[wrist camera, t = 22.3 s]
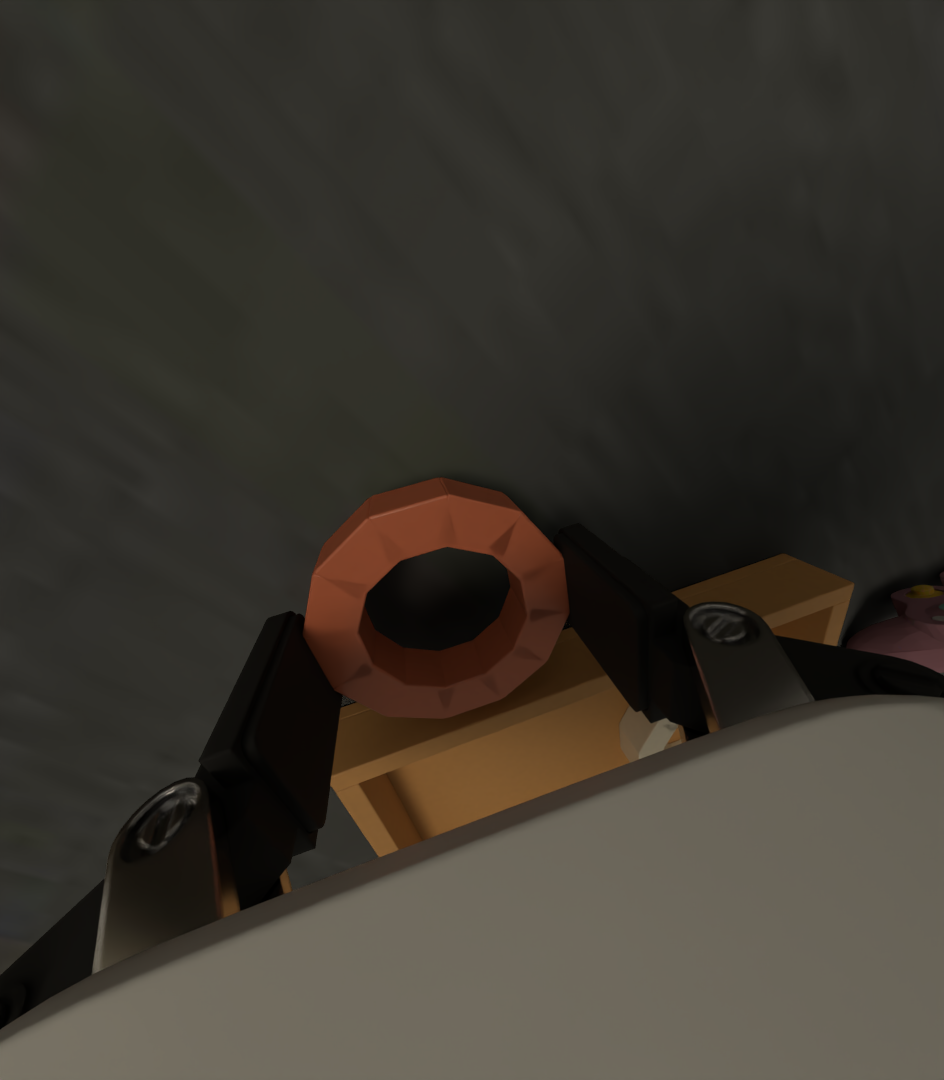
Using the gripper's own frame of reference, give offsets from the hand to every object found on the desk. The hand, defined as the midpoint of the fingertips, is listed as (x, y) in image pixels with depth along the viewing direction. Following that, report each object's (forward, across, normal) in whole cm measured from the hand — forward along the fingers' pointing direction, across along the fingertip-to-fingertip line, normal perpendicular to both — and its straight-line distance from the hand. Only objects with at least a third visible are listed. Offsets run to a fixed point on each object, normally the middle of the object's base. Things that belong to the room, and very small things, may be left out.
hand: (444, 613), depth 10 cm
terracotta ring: (+1, 0, 0) cm, 1 cm away
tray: (+3, -5, +12) cm, 13 cm away
